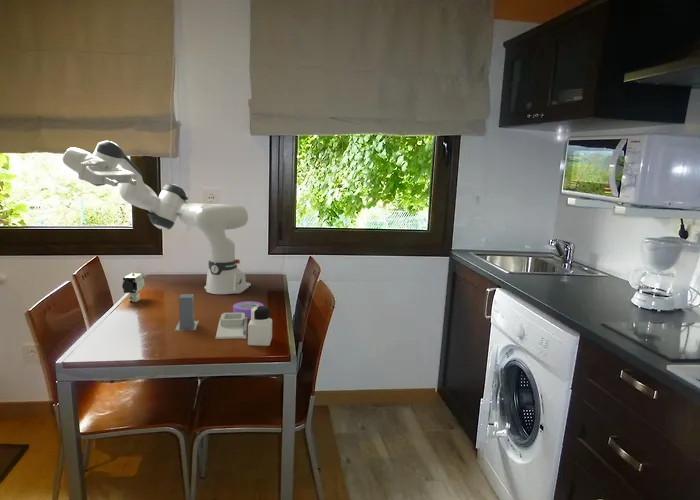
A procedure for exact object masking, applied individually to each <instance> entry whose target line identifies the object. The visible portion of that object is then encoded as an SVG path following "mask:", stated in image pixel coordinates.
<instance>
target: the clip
mask: <svg viewBox="0 0 700 500" xmlns="http://www.w3.org/2000/svg"><path fill="white" fill-rule="evenodd" d="M194 296H195V295H194V294H193V293H184V294H183V293H182V294H179V297H178V315H179V316H178V319H179V321H178V322H179V327H180V328H191V327H193V325H194V321H195V299H194V298H195V297H194Z"/></svg>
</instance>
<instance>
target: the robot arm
mask: <svg viewBox="0 0 700 500" xmlns="http://www.w3.org/2000/svg"><path fill="white" fill-rule="evenodd" d="M62 161H63V164H64V165H65V166H66V167H68V168H69V169H71V170H72V171H73V172H76V173H77V174H78V179H79V180H82V181H85V182H87V183H90V184H92V185H94V186H95V187H102V186H105V185H109V186H112V187H119V195H120V197H121V199H123V200H124V201H125V202H127V203H128V204H130V205H132V206H134V207H137V208H138V209H139V208H140V209H143V210H146V211H148V212H149V213H147V217H148V218H149V221H150V223H151V225H153V226H155V228H158V230H171V229H172V228H173V227H174V225H175V224H176V223H175V222H176V220H177V218H178V219H179V220H180V221H181V222H182V223H184V224H186V225H187V226H192V227H196V228H198V229H199V230H200V231H201V232H202V233H203V234H204V235H205V237H206V240H207V242H208V250H209V260H208V270H207V272H206V282H205V283H206V285H204V289H205V292H206V293H209V294H211V295H212V294H213V295H230V294H231V295H232V294H241V293H242V292H244V291H245V290H247V289H248V288H249V286H250V287H251V286H252V285H251V282H247V281H246V274H245V273H244V272H243V271H242V270H241V269H240V268H238V265H239V264H240V263H241V260H240V259H238V258H237V259H236V258H235V257H236V256H235V255H236V252H235V251H236V248H235V243H234V241H233V240H232V239H231V238H228V237H227V235H226V232H225V231H227V230H235V229H239V228H241V227H244V226H246V224H247V223H248V221H249V214H248V211H247V209H246V208H245V207H244V205H243V206H242V205H238V204H237V205H236V204H229V203H227V204H226V203H202V202H201V203H200V202H188V200H189V197H187V194H186V192H185V189H183V188H182V187H180V185H177V184H175V183H165V184H164V185H163V187H162V188H161V191H160V193H159V195H158V194H157V193H156V192H155V191H154V190H153V189H152V187H150V186H148V185H147V184H146V183H144V180H143V173H142V172H141V170H140V169H139V168H138V167H137V165H135V164H134V162H133V161H132V160H131V159H130V158H129V157H128V156H127V155H126V154H125V151H123V149H122V148H121V147H120V146H119V145H118V144H117V143H115V142H113V141H110V140H103V141H99V142H98V143H97V144H96V147H95V149H94V152H93V153H91V152H89V151H86V150H84V149H81V148H78V147H74V146H73V147H69V148H67V149H66V151H65V152H64V153H63V156H62ZM118 165H119V166H120V167H118ZM118 184H119V186H118ZM237 264H238V265H237Z"/></svg>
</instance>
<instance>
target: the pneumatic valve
mask: <svg viewBox="0 0 700 500" xmlns="http://www.w3.org/2000/svg"><path fill="white" fill-rule="evenodd" d="M145 286H146V278H145V277H144V273H143V272H140V273H139V272H131V273H129V274H127V275H125V276H123V277H122V285H121V288H122V290H123V291H122V292H123V293H125V294H128V302H129V303H131V302H130V301H132V303H133V302H134V303H137V302H138V301H140V300H141V299H140V296H141V295H140V293H141V292H139V291H140V290H142V289H144V287H145Z"/></svg>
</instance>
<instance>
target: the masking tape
mask: <svg viewBox="0 0 700 500" xmlns="http://www.w3.org/2000/svg"><path fill="white" fill-rule="evenodd" d="M256 306H264V303H262V302H258V301H240V302H236V303H234V304H233V305H232V313H245V317H247V320H251V309H252V308H254V307H256Z"/></svg>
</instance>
